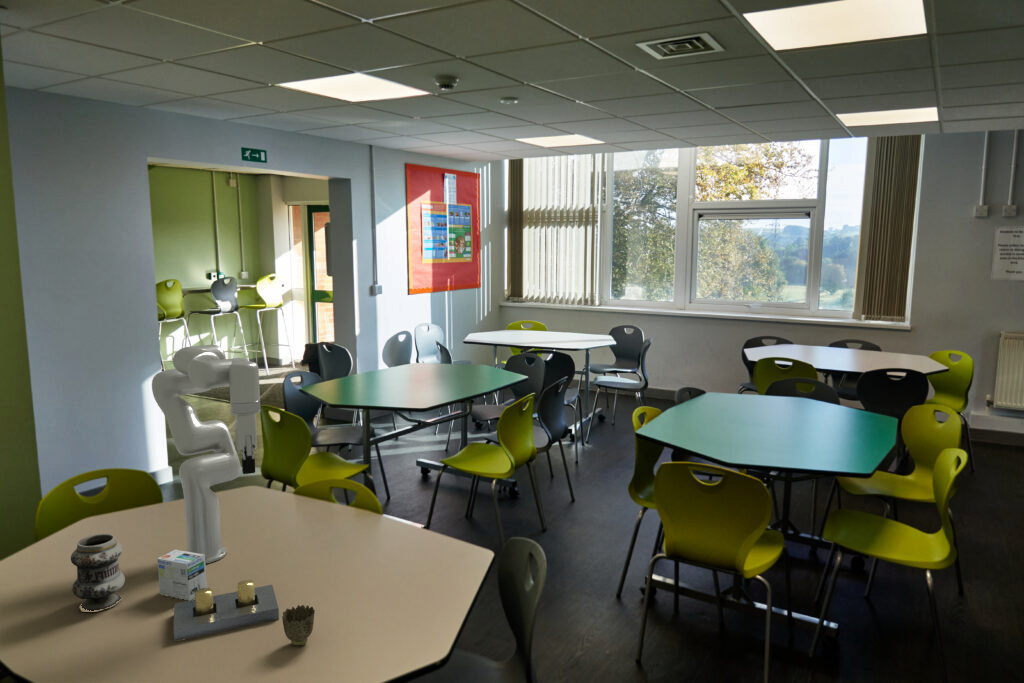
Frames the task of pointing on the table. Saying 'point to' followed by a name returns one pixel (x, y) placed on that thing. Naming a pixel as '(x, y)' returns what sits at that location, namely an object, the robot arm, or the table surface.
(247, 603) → the brass cylinder
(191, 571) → the light bulb box
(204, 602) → the seated bushing
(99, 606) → the apothecary jar
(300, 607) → the cup
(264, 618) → the jig
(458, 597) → the table surface
